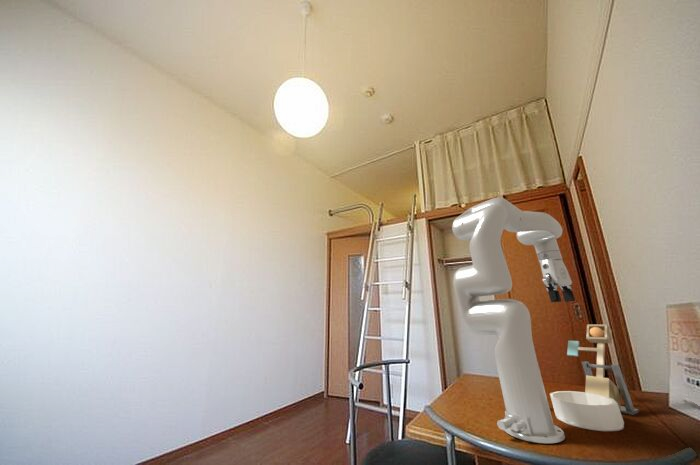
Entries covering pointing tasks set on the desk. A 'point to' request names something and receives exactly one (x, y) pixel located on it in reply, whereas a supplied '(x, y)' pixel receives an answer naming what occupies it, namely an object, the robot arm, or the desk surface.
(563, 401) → the bowl
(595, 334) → the ball
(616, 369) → the pivot stand
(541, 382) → the robot arm
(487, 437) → the desk surface
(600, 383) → the lever
